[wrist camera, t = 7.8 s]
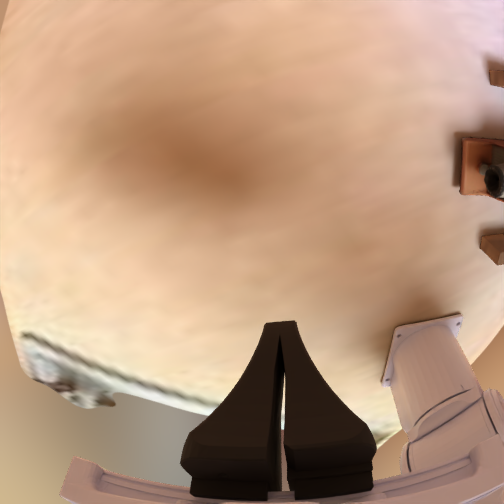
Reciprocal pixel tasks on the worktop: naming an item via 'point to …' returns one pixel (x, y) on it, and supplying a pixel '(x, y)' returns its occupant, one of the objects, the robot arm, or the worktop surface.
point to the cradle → (497, 245)
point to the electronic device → (482, 167)
